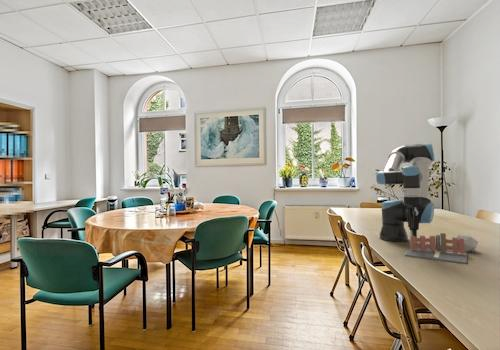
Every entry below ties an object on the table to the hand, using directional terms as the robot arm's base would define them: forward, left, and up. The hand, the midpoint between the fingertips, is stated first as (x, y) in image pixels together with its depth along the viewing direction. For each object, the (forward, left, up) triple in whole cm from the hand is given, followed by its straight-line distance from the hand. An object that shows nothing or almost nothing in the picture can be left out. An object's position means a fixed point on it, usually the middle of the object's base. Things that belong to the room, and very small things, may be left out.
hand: (413, 242), depth 138 cm
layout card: (+2, +9, -4) cm, 11 cm away
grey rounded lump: (-13, +21, -4) cm, 25 cm away
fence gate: (0, +5, -3) cm, 6 cm away
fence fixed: (-2, +16, -3) cm, 16 cm away
